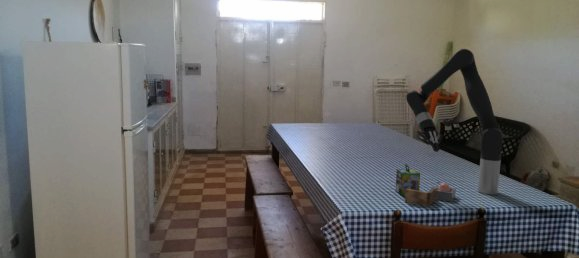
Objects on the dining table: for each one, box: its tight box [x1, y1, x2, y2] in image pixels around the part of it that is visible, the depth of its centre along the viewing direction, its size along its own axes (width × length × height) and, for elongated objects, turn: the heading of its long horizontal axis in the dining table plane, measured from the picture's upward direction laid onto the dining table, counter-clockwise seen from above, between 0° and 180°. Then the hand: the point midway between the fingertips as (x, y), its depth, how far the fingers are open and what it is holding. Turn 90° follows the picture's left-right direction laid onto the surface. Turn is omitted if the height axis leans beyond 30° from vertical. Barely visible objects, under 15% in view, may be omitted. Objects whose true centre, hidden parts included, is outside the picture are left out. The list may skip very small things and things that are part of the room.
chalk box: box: [395, 163, 421, 197], centre depth 212 cm, size 9×9×15 cm
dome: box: [437, 182, 451, 192], centre depth 207 cm, size 6×6×6 cm
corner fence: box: [404, 187, 436, 207], centre depth 201 cm, size 11×11×6 cm
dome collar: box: [434, 185, 457, 202], centre depth 207 cm, size 9×9×4 cm
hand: (437, 150), depth 211 cm, fingers closed
